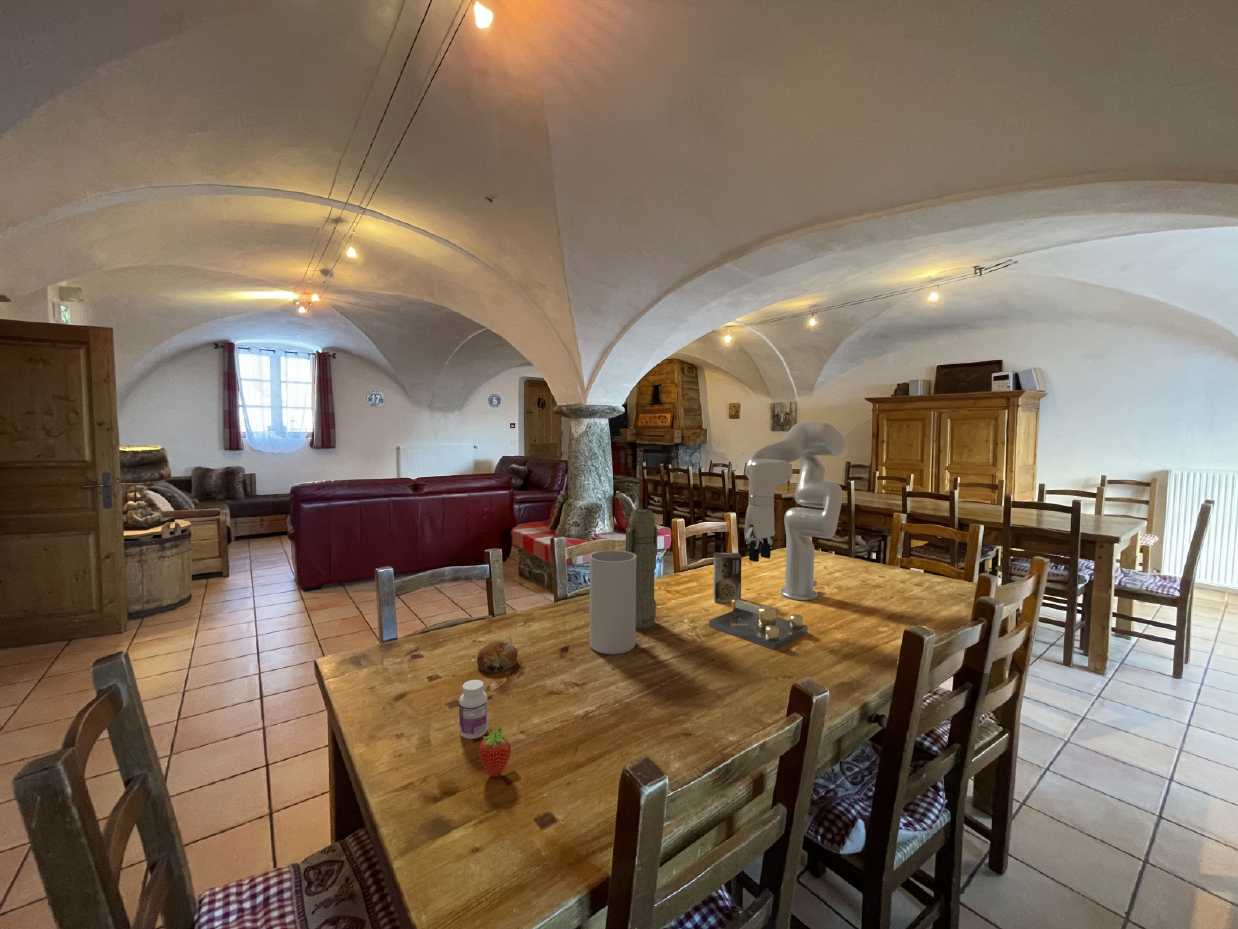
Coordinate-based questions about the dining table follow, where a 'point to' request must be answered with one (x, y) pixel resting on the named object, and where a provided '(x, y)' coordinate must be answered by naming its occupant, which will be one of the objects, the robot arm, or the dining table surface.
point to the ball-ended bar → (757, 612)
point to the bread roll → (497, 656)
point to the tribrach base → (748, 629)
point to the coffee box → (727, 577)
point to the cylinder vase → (612, 601)
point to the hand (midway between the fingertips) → (759, 558)
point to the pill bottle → (473, 710)
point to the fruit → (494, 752)
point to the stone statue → (643, 564)
